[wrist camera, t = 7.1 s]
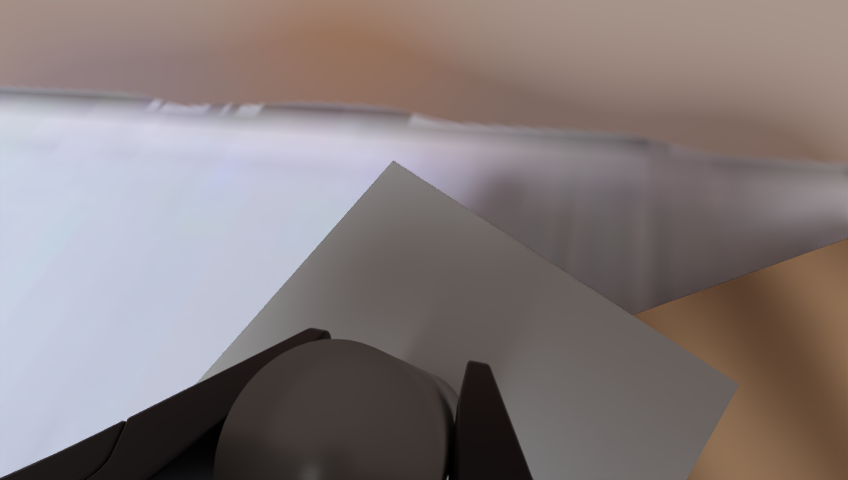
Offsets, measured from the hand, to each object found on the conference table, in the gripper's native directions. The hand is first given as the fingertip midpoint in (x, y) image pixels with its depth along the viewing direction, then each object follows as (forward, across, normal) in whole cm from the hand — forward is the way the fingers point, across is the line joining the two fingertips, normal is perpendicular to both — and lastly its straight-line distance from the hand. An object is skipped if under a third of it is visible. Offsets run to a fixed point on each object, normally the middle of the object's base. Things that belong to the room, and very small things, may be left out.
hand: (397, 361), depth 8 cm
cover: (+3, 0, +5) cm, 6 cm away
